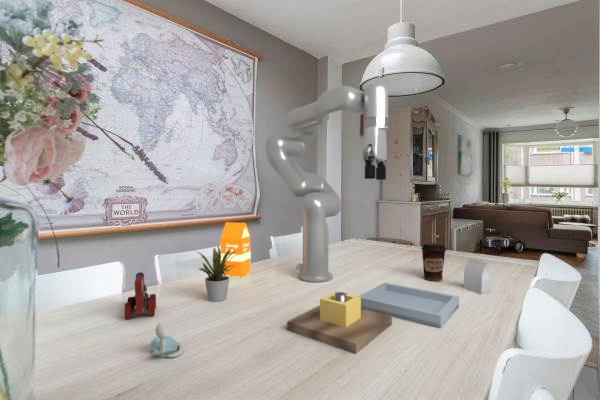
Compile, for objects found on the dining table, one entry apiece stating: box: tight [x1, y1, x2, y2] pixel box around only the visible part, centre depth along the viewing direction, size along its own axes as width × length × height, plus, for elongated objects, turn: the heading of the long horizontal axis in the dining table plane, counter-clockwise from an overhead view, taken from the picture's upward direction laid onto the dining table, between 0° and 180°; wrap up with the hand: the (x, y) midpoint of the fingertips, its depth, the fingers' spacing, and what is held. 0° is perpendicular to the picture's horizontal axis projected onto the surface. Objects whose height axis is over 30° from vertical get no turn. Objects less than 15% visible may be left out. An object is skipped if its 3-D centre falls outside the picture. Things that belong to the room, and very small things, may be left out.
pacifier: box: [150, 323, 185, 359], centre depth 66 cm, size 7×6×6 cm
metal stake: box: [335, 291, 347, 303], centre depth 78 cm, size 3×3×6 cm
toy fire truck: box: [123, 271, 157, 320], centre depth 87 cm, size 7×12×10 cm, turn 21°
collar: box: [319, 291, 361, 327], centre depth 78 cm, size 7×7×5 cm
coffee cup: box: [421, 242, 447, 282], centre depth 120 cm, size 9×8×13 cm
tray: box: [357, 282, 460, 329], centre depth 91 cm, size 22×18×3 cm
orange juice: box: [220, 221, 251, 278], centre depth 126 cm, size 8×9×20 cm
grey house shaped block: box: [463, 257, 491, 295], centre depth 107 cm, size 4×7×10 cm, turn 20°
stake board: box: [286, 305, 393, 354], centre depth 78 cm, size 18×18×2 cm
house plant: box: [195, 244, 243, 303], centre depth 97 cm, size 14×14×16 cm
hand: (375, 179), depth 105 cm, fingers open, 9 cm apart
